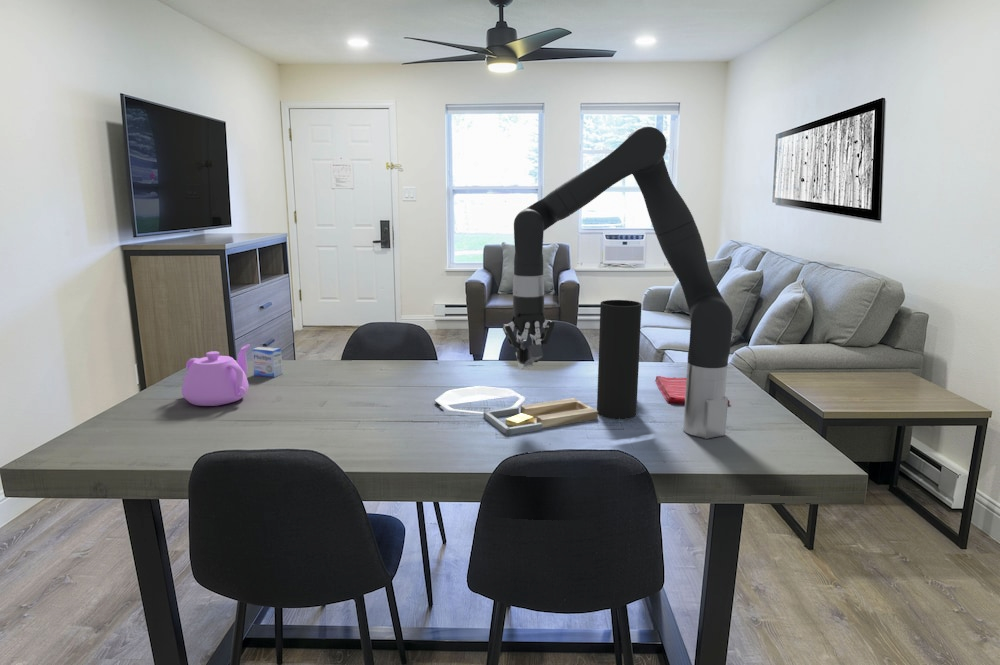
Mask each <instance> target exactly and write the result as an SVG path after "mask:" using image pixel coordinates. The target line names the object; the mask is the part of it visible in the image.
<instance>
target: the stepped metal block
mask: <svg viewBox="0 0 1000 665" xmlns="http://www.w3.org/2000/svg"><path fill="white" fill-rule="evenodd" d="M524 349H525V364H521V363H519V361H518V360H517V359H516V361H517V366H518V370H519V371H520V370H521V371H523V370H529V369H530V368H532V367H533V366H534V363H536V362H535V361H537V360H538V359H539V360H540V359H541V358H543V357H544V353H543V349H542V346H541V344H538V345H533V344H531V345H527V347H525V348H524ZM515 355H516V358H517V351H516V352H515ZM539 360H538V361H539Z"/></svg>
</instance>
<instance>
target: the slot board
mask: <svg viewBox="0 0 1000 665" xmlns="http://www.w3.org/2000/svg"><path fill="white" fill-rule="evenodd" d="M521 413H523V414H526V415H529V416H532V417H534V422H533V424H534V423H542V429H543V428H550V427H556V426H563V425H567V424H574V423H581V422H587V421H593V420H598V419H599V415H598V411H597V409H595V408H593V407H592V406H589V405H588V404H585V403H584V402H582V401H580V400H579V399H576V398H575V397H572V398H563V399H558V400H557V399H556V400H549V401H544V402H537V403H529V404H520V414H521Z"/></svg>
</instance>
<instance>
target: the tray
mask: <svg viewBox="0 0 1000 665" xmlns="http://www.w3.org/2000/svg"><path fill="white" fill-rule="evenodd" d="M483 412H484V414H483V418H484V419H485V420H487V421H488V422H489V423H490V424H492V425H493V426H494V427H496V428H497V429H498V430H499V431H501V432H502V433H503V434H504V435H506V436H510V435H511V436H512V435H517V434H518V435H519V434H522V433H523V434H524V433H528V432H529V433H530V432H536V431H541V430H543V428H542V423H534V422H533V423H530V424H528V425H522V426H515V427H511V426H508V425H506V423H504V422H502V421H501V420H500V419H498V418H497V417H504V416H511V415H518V414H520V409H519V407H513V408H510V407H507V408H506V409H505V408H500V410H499V409H494V410H487V411H483Z"/></svg>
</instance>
